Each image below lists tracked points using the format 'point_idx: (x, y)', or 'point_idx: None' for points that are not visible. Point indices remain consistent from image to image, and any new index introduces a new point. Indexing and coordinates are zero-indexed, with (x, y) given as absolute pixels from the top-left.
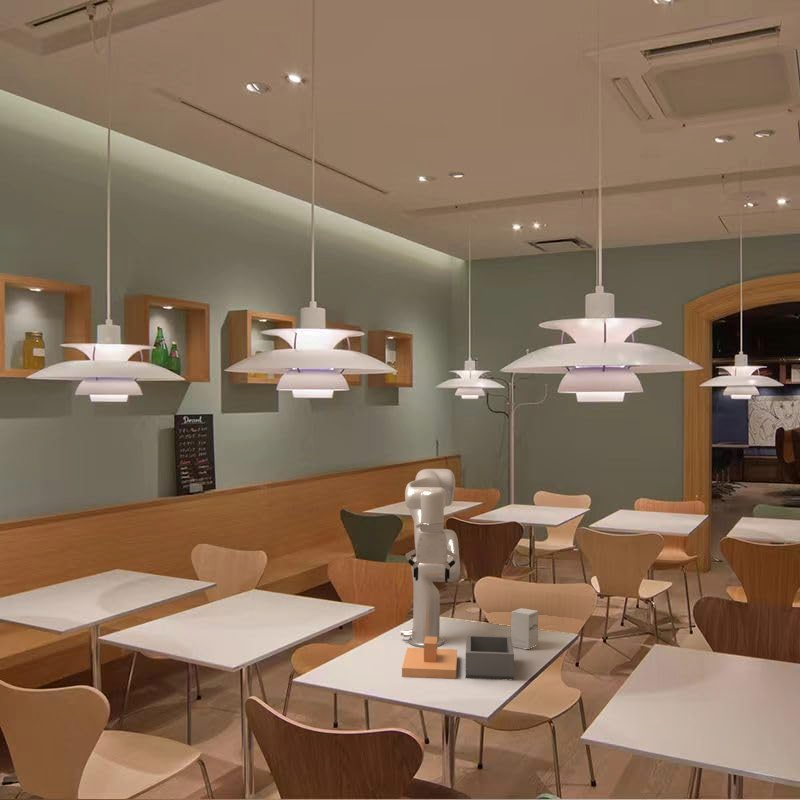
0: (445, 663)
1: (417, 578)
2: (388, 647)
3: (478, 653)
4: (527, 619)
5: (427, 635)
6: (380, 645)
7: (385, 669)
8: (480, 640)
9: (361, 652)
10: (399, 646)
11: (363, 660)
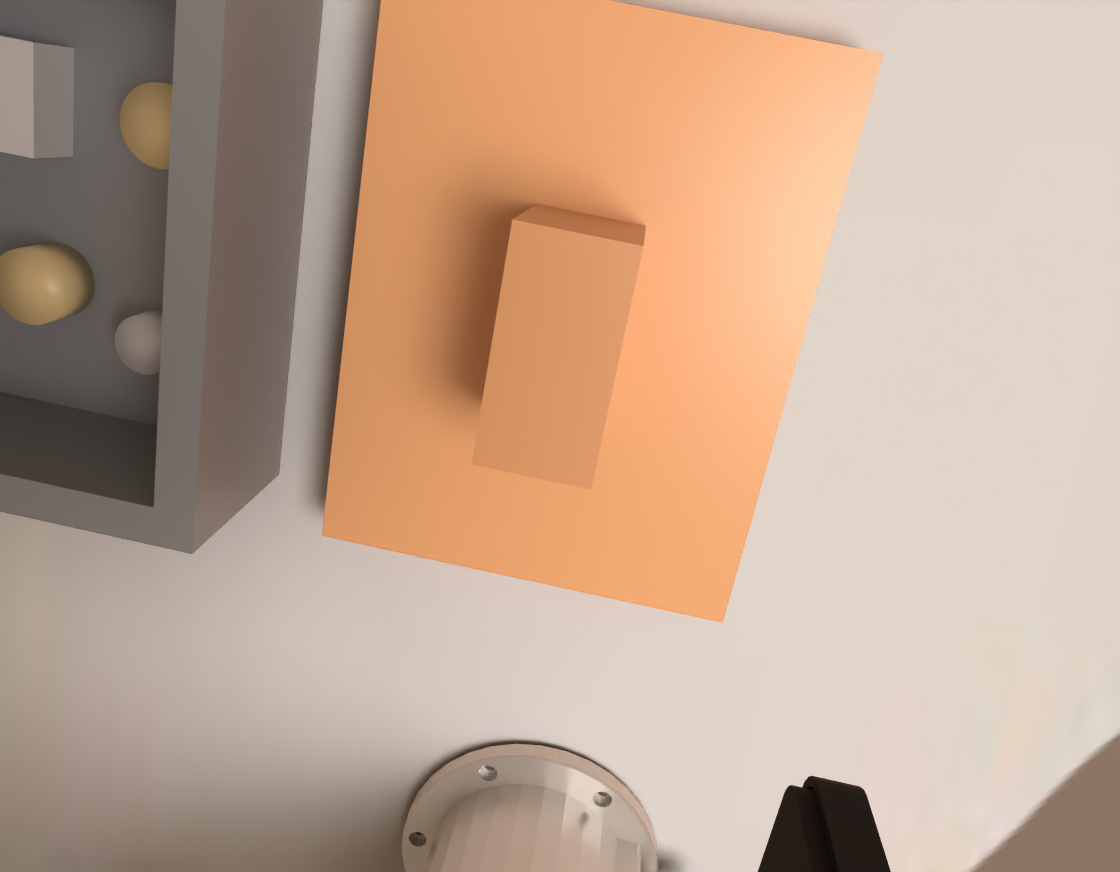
0: (459, 164)
1: (805, 818)
2: None
3: None
4: None
5: (522, 826)
6: None
7: (967, 269)
8: (87, 474)
9: (1066, 702)
10: (739, 796)
11: (1099, 514)
